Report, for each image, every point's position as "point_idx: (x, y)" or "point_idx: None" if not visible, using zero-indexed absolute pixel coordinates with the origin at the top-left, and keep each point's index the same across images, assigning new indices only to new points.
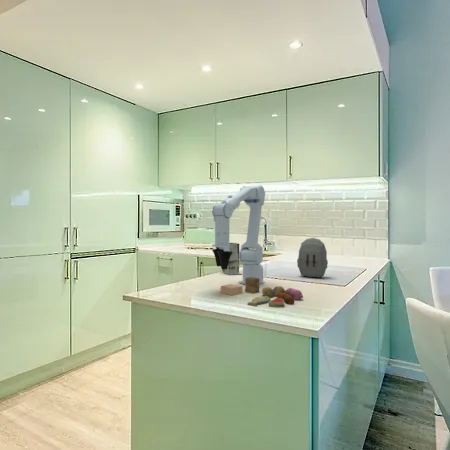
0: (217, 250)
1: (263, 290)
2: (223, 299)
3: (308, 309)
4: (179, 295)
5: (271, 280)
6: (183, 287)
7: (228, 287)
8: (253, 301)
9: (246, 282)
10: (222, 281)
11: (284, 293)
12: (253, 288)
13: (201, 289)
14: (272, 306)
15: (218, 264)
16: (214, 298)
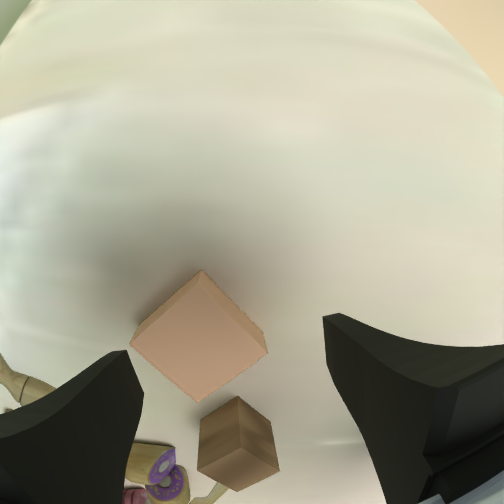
0: (418, 453)
1: (132, 458)
2: (50, 273)
3: None
4: (139, 30)
5: None
6: (366, 50)
7: (151, 328)
8: (9, 380)
9: (233, 433)
10: (490, 288)
11: None
12: (202, 437)
13: (309, 150)
14: None
15: (330, 338)
16: (63, 227)
